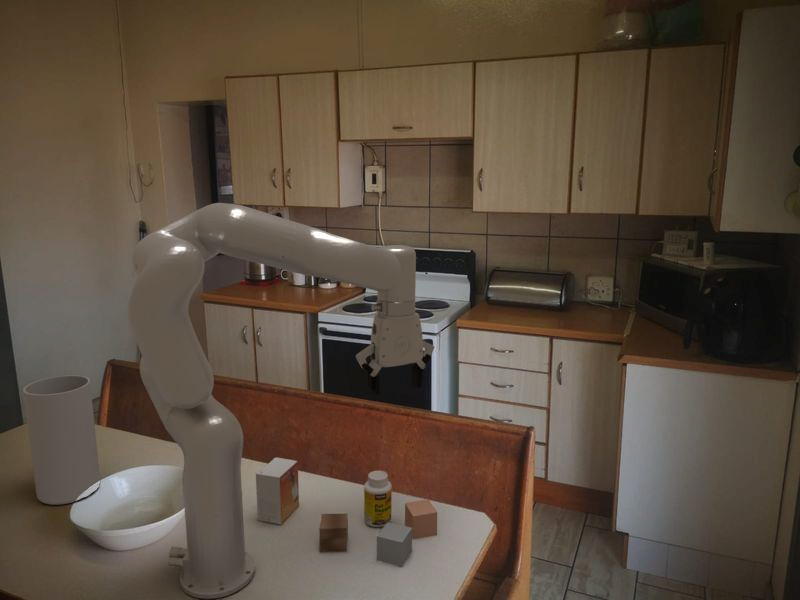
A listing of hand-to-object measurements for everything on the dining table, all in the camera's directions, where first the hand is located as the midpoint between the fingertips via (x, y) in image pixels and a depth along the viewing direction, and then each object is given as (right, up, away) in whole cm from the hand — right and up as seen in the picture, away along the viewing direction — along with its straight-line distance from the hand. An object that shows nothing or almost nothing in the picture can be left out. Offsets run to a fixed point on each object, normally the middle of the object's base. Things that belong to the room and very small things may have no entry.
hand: (395, 389), depth 124 cm
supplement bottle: (-4, -27, 0) cm, 27 cm away
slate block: (0, -29, -11) cm, 31 cm away
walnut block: (-12, -29, -8) cm, 32 cm away
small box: (-24, -27, +3) cm, 36 cm away
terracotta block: (+5, -28, -3) cm, 28 cm away
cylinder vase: (-73, -25, +11) cm, 78 cm away
